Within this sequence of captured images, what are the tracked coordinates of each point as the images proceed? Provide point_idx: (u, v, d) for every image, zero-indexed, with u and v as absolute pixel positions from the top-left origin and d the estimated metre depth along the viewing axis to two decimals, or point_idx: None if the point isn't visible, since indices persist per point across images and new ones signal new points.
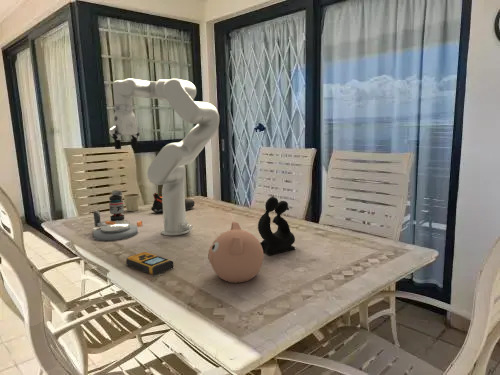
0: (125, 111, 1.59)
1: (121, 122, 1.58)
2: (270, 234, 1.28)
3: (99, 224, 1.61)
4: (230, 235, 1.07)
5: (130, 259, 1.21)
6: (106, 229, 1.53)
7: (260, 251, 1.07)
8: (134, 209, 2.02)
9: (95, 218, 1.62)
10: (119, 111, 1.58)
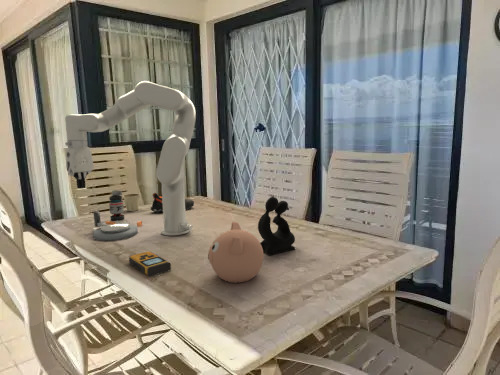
0: (78, 147, 1.49)
1: (74, 159, 1.48)
2: (270, 234, 1.28)
3: (99, 224, 1.61)
4: (230, 235, 1.07)
5: (132, 258, 1.22)
6: (106, 229, 1.53)
7: (260, 251, 1.07)
8: (134, 209, 2.02)
9: (95, 218, 1.62)
10: (72, 147, 1.49)
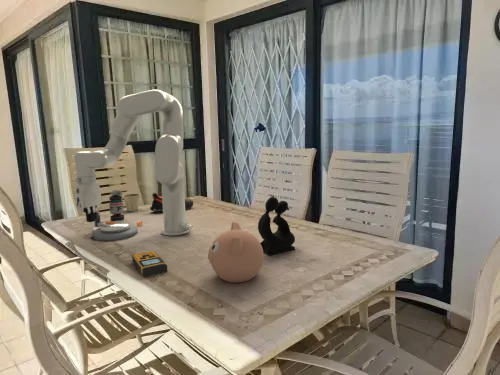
0: (87, 183, 1.54)
1: (83, 195, 1.53)
2: (270, 234, 1.28)
3: (99, 224, 1.61)
4: (230, 235, 1.07)
5: (134, 257, 1.23)
6: (106, 229, 1.53)
7: (260, 251, 1.07)
8: (134, 209, 2.02)
9: (95, 218, 1.62)
10: (81, 183, 1.53)
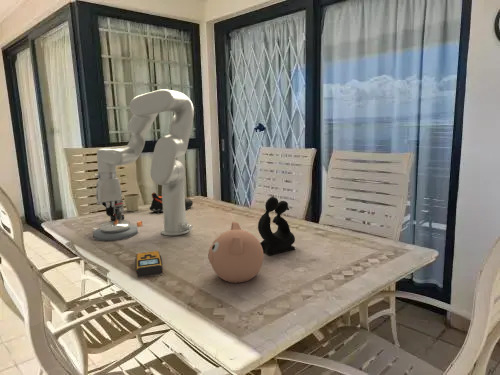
0: (105, 179, 1.61)
1: (100, 190, 1.61)
2: (270, 234, 1.28)
3: None
4: (230, 235, 1.07)
5: (136, 256, 1.24)
6: None
7: (260, 251, 1.07)
8: (134, 209, 2.02)
9: None
10: (100, 179, 1.61)
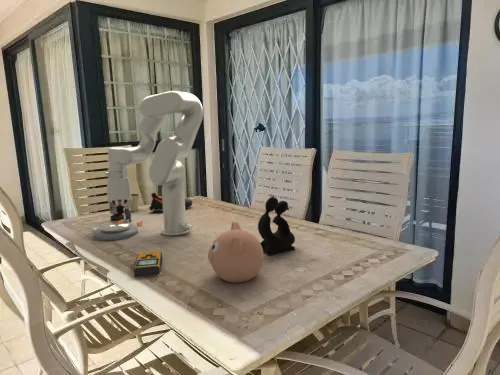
0: (113, 177, 1.62)
1: (108, 188, 1.63)
2: (270, 234, 1.28)
3: None
4: (230, 235, 1.07)
5: (138, 255, 1.25)
6: None
7: (260, 251, 1.07)
8: (134, 209, 2.02)
9: None
10: (109, 177, 1.64)
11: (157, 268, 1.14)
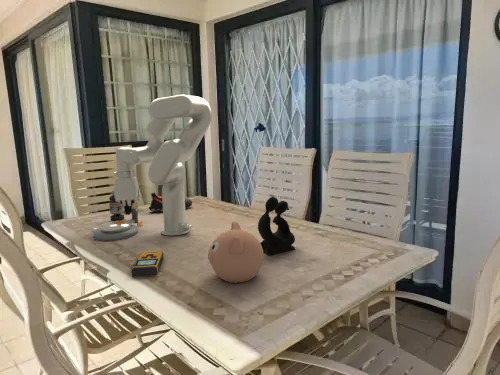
0: (119, 177, 1.62)
1: (115, 187, 1.64)
2: (270, 234, 1.28)
3: None
4: (230, 235, 1.07)
5: (140, 255, 1.25)
6: None
7: (260, 251, 1.07)
8: None
9: None
10: (117, 177, 1.64)
11: (154, 269, 1.13)
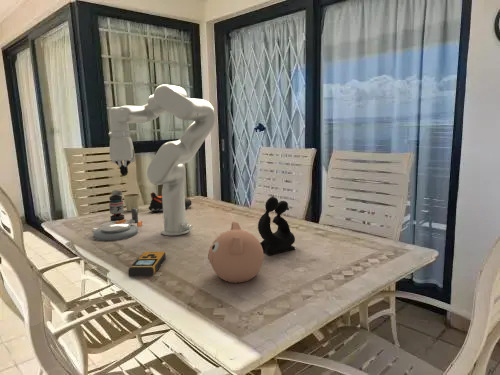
0: (113, 137, 1.63)
1: (110, 148, 1.64)
2: (270, 234, 1.28)
3: None
4: (230, 235, 1.07)
5: (142, 254, 1.26)
6: None
7: (260, 251, 1.07)
8: None
9: None
10: (112, 137, 1.65)
11: (150, 269, 1.13)
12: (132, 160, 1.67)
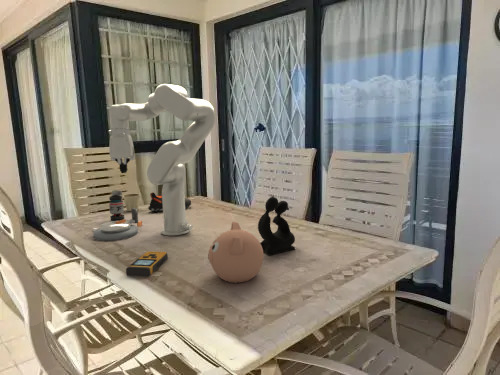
0: (113, 135, 1.63)
1: (110, 145, 1.64)
2: (270, 234, 1.28)
3: None
4: (230, 235, 1.07)
5: (144, 254, 1.26)
6: None
7: (260, 251, 1.07)
8: None
9: None
10: (112, 135, 1.65)
11: (147, 270, 1.13)
12: (132, 158, 1.67)
